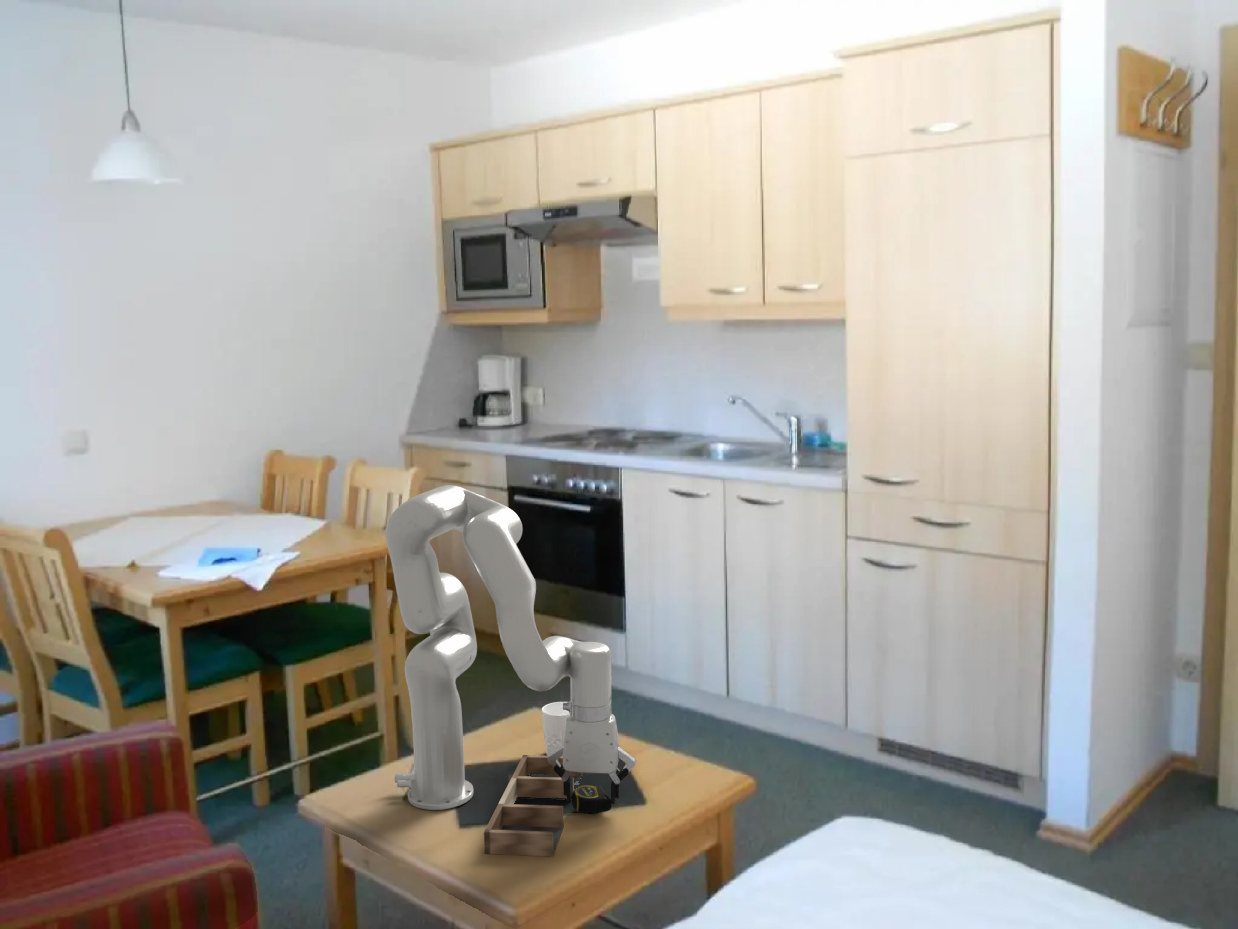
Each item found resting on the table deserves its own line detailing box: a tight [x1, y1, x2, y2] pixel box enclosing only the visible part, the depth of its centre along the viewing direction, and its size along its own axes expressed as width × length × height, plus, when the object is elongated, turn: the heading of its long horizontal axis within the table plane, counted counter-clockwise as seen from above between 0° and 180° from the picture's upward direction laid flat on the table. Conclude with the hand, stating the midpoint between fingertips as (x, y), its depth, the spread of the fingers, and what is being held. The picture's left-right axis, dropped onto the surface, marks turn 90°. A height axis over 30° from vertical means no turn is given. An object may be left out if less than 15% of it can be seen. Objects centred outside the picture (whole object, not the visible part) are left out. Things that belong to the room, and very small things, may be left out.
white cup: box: [541, 701, 570, 756], centre depth 240 cm, size 8×8×10 cm
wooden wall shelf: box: [483, 754, 583, 857], centre depth 214 cm, size 12×33×4 cm, turn 173°
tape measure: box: [571, 784, 613, 816], centre depth 213 cm, size 7×7×4 cm
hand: (591, 799), depth 212 cm, fingers closed on tape measure, 7 cm apart
